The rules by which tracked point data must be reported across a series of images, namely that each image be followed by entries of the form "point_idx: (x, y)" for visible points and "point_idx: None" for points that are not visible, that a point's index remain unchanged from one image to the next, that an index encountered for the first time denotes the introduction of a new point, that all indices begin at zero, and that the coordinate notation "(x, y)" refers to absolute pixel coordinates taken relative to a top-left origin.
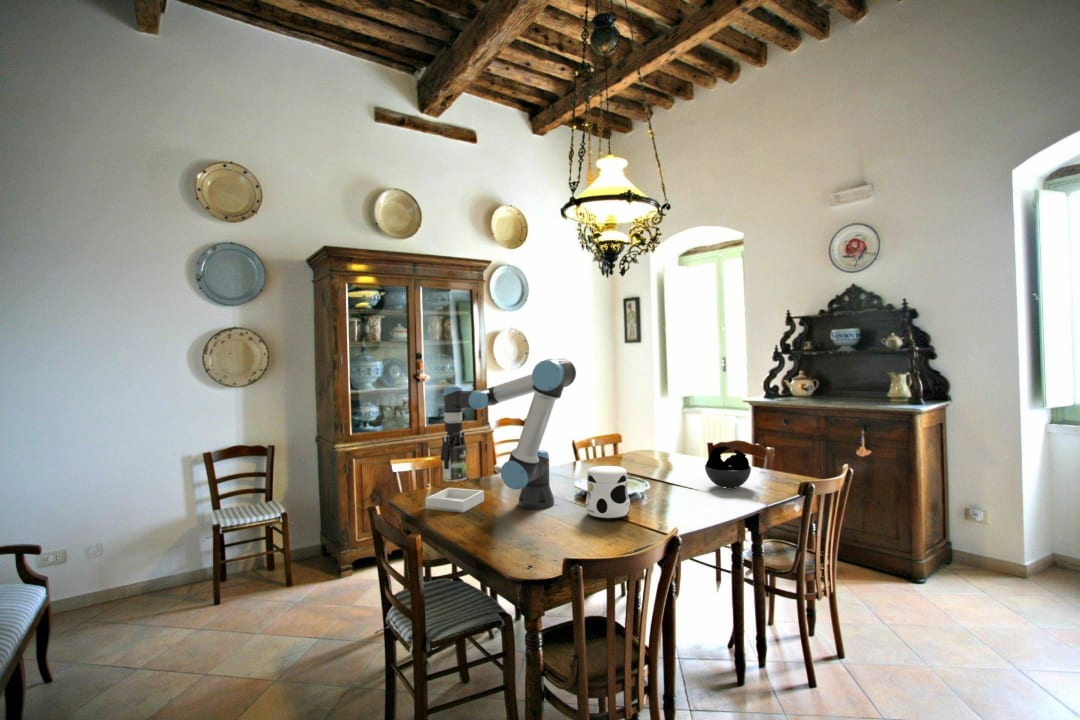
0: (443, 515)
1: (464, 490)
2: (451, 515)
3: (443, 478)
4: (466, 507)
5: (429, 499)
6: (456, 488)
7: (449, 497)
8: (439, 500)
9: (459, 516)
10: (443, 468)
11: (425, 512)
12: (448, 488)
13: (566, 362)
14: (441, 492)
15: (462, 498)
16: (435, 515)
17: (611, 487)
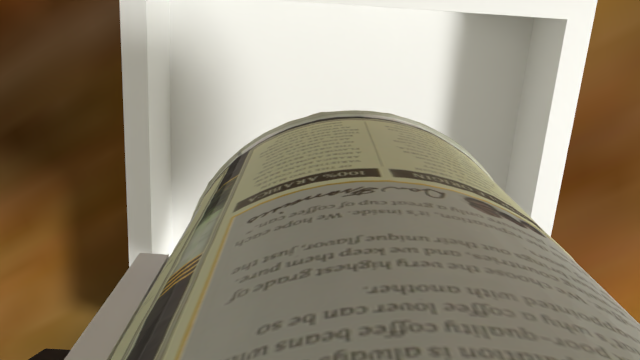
0: (45, 218)
1: (528, 206)
2: (69, 274)
3: (216, 178)
4: None
5: (122, 14)
6: (567, 104)
7: (482, 42)
8: (127, 138)
9: (71, 338)
10: (177, 247)
11: (55, 27)
12: (557, 11)
13: None
14: (397, 7)
15: None
16: (19, 157)
17: None
